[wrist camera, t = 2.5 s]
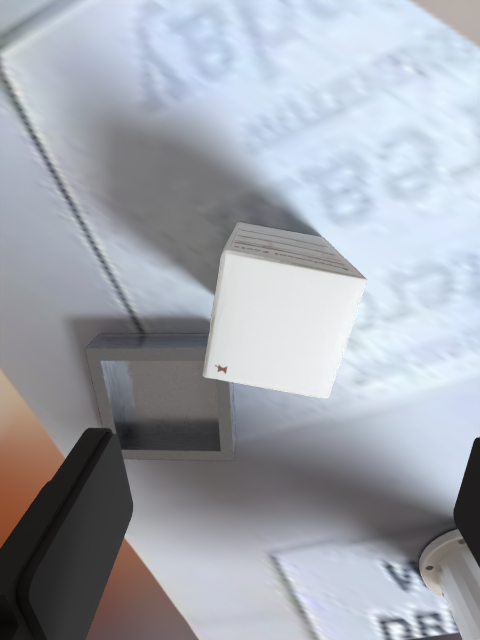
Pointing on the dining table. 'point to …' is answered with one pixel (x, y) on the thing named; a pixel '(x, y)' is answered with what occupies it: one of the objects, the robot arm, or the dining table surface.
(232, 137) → the dining table surface
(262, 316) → the supplement box
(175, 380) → the locating frame
